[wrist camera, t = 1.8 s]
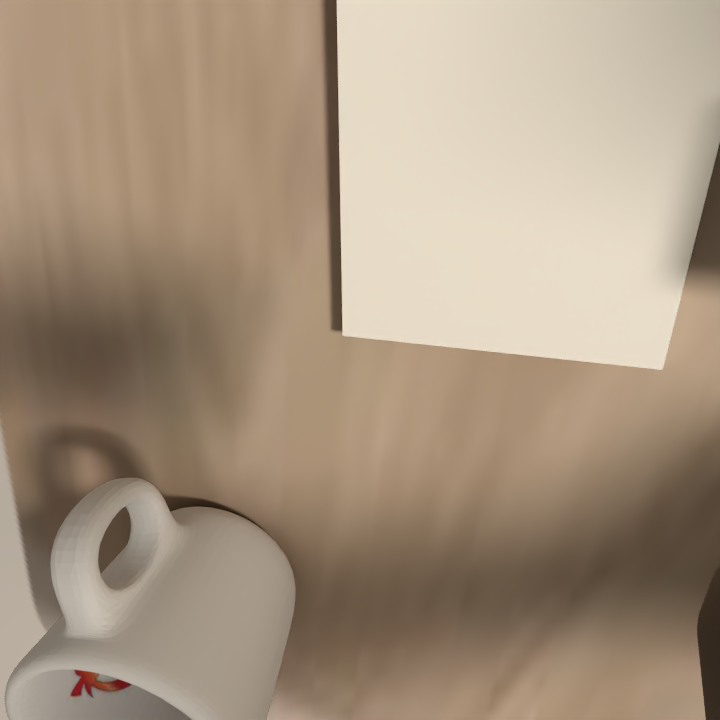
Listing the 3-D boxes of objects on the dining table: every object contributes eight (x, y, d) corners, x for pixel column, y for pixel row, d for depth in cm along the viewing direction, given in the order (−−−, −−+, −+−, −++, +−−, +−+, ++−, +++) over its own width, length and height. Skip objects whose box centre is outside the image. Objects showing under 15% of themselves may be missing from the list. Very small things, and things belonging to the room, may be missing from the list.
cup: (72, 423, 26) (-98, 586, 19) (263, 405, 23) (147, 585, 16) (175, 625, 30) (69, 814, 23) (343, 629, 28) (278, 841, 21)
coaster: (750, -6, 15) (756, -5, 14) (659, 361, 19) (662, 369, 19) (342, -7, 16) (336, -7, 16) (346, 328, 21) (342, 335, 20)
